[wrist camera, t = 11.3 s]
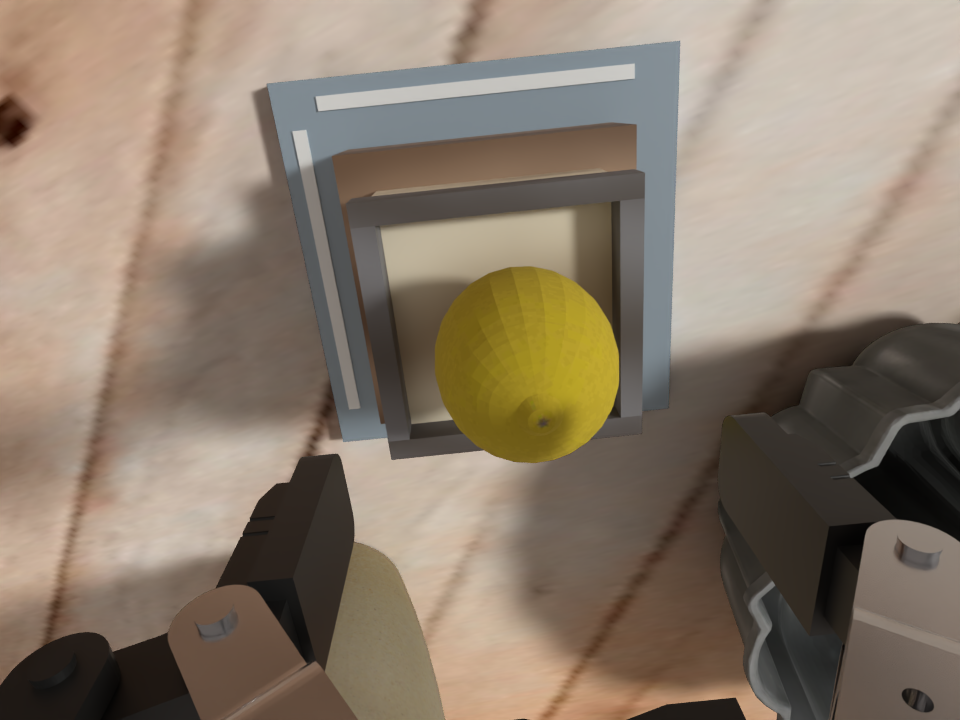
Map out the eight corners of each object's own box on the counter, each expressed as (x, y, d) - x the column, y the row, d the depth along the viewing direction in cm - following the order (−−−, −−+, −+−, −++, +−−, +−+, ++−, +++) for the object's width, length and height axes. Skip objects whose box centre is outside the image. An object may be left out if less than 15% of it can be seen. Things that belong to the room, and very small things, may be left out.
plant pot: (194, 630, 39) (36, 948, 24) (273, 452, 34) (136, 715, 19) (404, 697, 42) (378, 1013, 27) (504, 543, 37) (538, 828, 22)
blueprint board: (272, 84, 27) (266, 83, 26) (673, 42, 27) (680, 40, 26) (345, 434, 34) (343, 443, 33) (663, 401, 34) (669, 409, 33)
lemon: (480, 407, 23) (492, 545, 16) (410, 286, 21) (386, 380, 14) (610, 346, 23) (685, 461, 15) (550, 214, 21) (603, 273, 13)
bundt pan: (1101, 572, 40) (1293, 709, 31) (718, 680, 43) (790, 837, 34) (1127, 193, 30) (1422, 230, 21) (626, 364, 33) (693, 464, 24)
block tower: (348, 149, 27) (300, 168, 19) (611, 122, 27) (683, 128, 19) (389, 387, 32) (365, 489, 23) (613, 364, 32) (672, 457, 23)
